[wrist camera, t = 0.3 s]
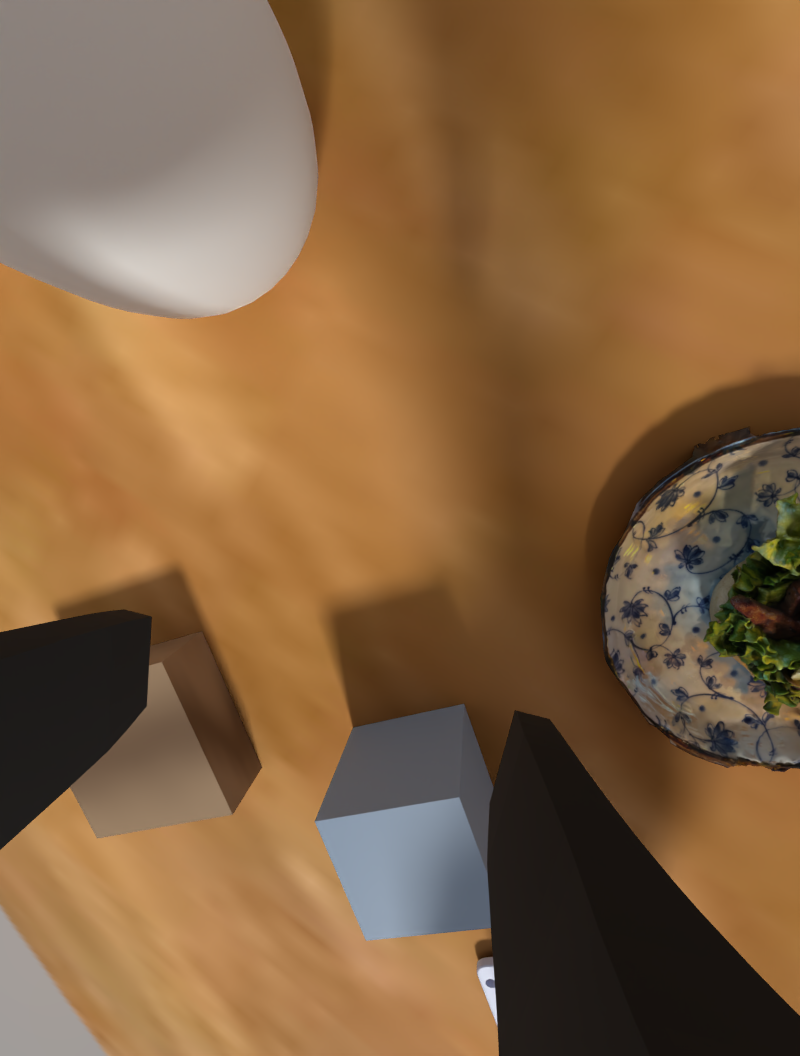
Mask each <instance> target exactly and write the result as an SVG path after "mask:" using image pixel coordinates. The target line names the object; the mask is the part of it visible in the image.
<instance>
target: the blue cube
mask: <svg viewBox="0 0 800 1056" xmlns="http://www.w3.org/2000/svg"><path fill="white" fill-rule="evenodd" d="M493 789H494V787H493V785H492V782H491V779H490V776H489V773H488V770H487V768H486V765H485V762H484V759H483V756H482V753H481V751H480V748H479V745H478V742H477V739H476V736H475V734H474V731H473V728H472V725H471V722H470V719H469V716H468V714H467V711H466V708H465V705H464V704H461V705H456V706H451V707H447V708H442V709H437V710H433V711H428V712H423V713H419V714H414V715H409V716H405V717H400V718H395V719H391V720H386V721H381V722H377V723H372V724H368V725H363V726H358V727H354V728H353V729H352V732H351V734H350V736H349V739H348V741H347V744H346V746H345V749H344V751H343V754H342V756H341V759H340V761H339V763H338V766H337V768H336V771H335V773H334V776H333V778H332V781H331V783H330V785H329V788H328V790H327V793H326V795H325V798H324V800H323V803H322V805H321V808H320V810H319V812H318V815H317V817H316V820H315V823H316V826H317V828H318V830H319V833H320V835H321V837H322V839H323V842H324V844H325V846H326V849H327V851H328V853H329V856H330V858H331V860H332V863H333V865H334V867H335V870H336V872H337V874H338V877H339V879H340V881H341V884H342V886H343V888H344V891H345V893H346V895H347V897H348V900H349V902H350V904H351V907H352V909H353V911H354V914H355V916H356V918H357V921H358V923H359V925H360V928H361V930H362V932H363V935H364V937H365V939H366V941H367V940H377V939H387V938H397V937H407V936H417V935H427V934H436V933H446V932H456V931H466V930H476V929H486V928H491V921H490V905H489V889H488V873H487V849H488V824H489V803H490V800H491V796H492V792H493Z"/></svg>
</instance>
